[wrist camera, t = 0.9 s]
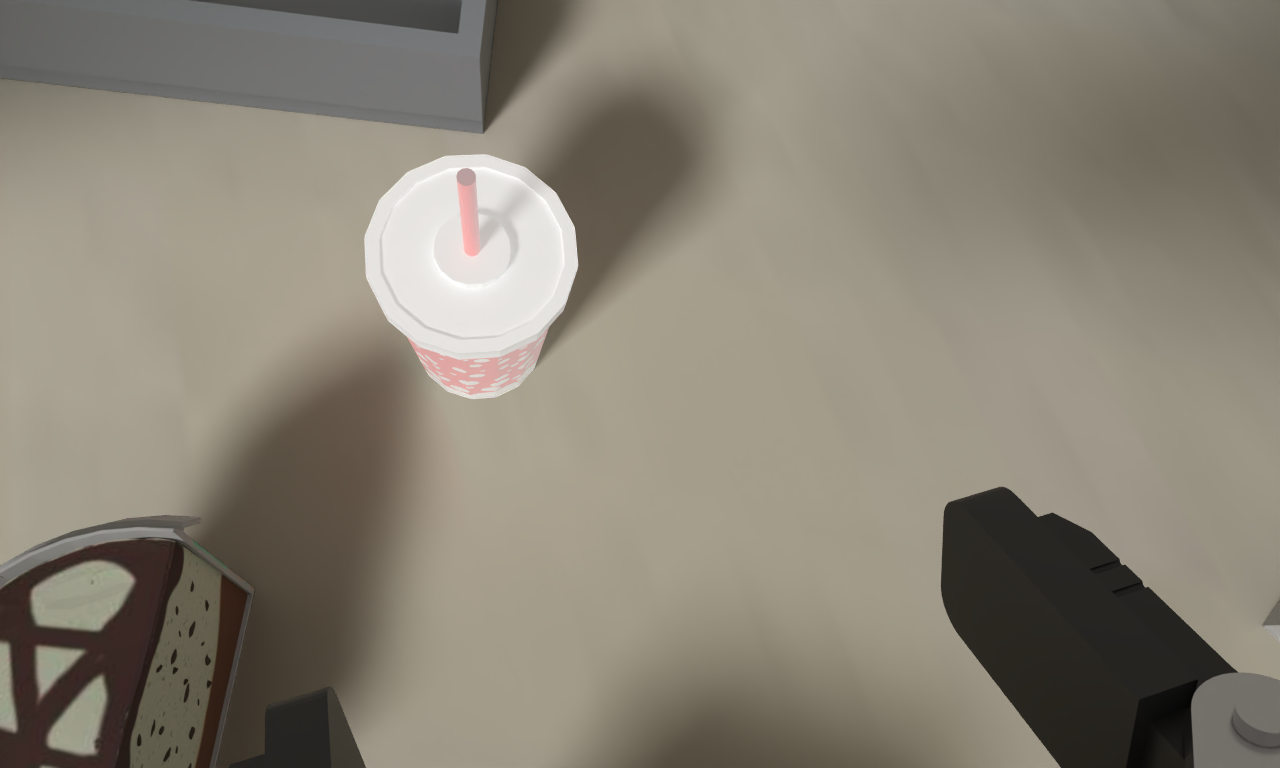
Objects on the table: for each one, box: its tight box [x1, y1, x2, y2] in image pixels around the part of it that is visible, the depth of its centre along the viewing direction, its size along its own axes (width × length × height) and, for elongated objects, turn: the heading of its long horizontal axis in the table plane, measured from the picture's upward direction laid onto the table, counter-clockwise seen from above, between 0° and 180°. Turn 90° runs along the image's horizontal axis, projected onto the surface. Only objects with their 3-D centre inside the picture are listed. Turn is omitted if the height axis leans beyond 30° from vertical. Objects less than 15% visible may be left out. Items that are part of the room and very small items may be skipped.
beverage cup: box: [364, 154, 578, 399], centre depth 33 cm, size 6×6×14 cm
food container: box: [0, 515, 255, 768], centre depth 30 cm, size 12×6×10 cm, turn 172°
